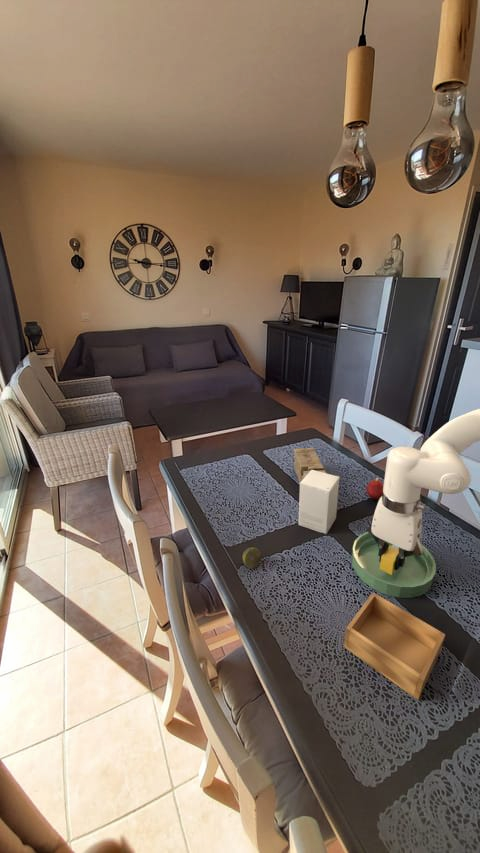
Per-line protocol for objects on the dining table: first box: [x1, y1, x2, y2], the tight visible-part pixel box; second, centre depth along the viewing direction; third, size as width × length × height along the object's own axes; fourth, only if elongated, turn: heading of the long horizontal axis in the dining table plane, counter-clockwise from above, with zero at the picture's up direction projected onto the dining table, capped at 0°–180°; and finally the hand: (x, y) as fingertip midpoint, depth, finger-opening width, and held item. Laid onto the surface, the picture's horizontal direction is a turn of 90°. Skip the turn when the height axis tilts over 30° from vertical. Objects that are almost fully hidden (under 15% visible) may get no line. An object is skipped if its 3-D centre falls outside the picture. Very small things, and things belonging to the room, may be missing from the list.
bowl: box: [351, 531, 437, 599], centre depth 91 cm, size 19×19×4 cm
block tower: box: [293, 447, 327, 484], centre depth 124 cm, size 8×8×29 cm
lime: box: [242, 547, 262, 570], centre depth 93 cm, size 4×5×5 cm
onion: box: [365, 477, 384, 501], centre depth 117 cm, size 6×6×8 cm
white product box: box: [298, 470, 341, 535], centre depth 106 cm, size 9×9×15 cm
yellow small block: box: [380, 546, 399, 575], centre depth 88 cm, size 3×5×4 cm, turn 136°
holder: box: [343, 592, 446, 701], centre depth 71 cm, size 15×12×6 cm
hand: (390, 562), depth 88 cm, fingers closed on yellow small block, 3 cm apart
